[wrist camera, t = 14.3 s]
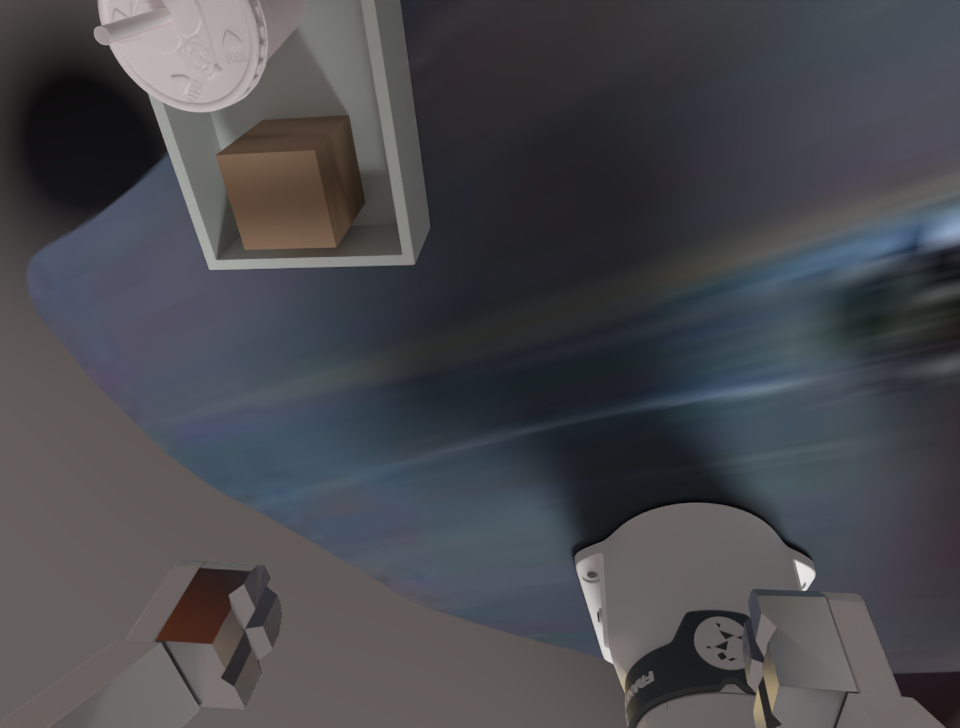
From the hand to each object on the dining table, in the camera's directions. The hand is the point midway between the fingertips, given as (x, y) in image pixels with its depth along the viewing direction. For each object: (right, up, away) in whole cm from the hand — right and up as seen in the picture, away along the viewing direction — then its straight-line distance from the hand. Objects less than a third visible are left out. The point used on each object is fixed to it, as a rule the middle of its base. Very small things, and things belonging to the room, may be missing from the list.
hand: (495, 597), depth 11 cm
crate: (-10, +20, +25) cm, 33 cm away
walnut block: (-10, +15, +27) cm, 33 cm away
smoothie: (-11, +22, +22) cm, 34 cm away
